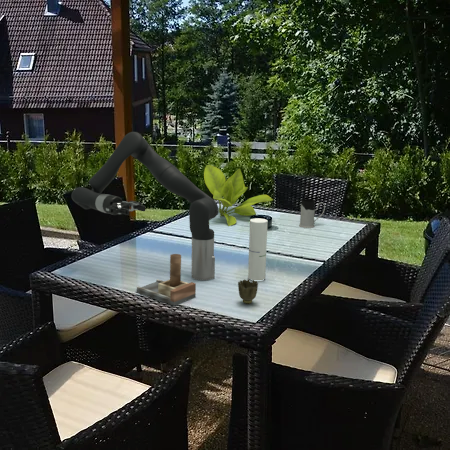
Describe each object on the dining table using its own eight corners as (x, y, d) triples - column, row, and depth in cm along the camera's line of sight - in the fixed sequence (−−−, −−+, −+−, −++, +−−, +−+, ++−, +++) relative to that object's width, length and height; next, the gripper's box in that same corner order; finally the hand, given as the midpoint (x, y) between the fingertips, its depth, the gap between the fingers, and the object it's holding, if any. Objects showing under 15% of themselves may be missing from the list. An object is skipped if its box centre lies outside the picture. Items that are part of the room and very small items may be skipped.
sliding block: (158, 293, 212) (158, 283, 211) (173, 288, 218) (173, 278, 217) (173, 299, 207) (173, 288, 206) (188, 293, 213) (188, 283, 212)
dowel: (179, 289, 214) (180, 253, 211) (181, 292, 210) (181, 256, 207) (169, 289, 213) (169, 253, 210) (170, 293, 209) (171, 256, 206)
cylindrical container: (247, 275, 238) (249, 218, 232) (264, 276, 238) (267, 218, 232) (248, 281, 231) (250, 222, 225) (265, 281, 231) (268, 222, 225)
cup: (234, 304, 207) (235, 284, 205) (241, 298, 214) (241, 278, 212) (253, 308, 204) (254, 287, 202) (260, 301, 211) (260, 281, 209)
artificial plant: (203, 237, 316) (227, 199, 299) (180, 184, 342) (201, 147, 324) (262, 241, 340) (287, 206, 322) (237, 191, 365) (259, 157, 348)
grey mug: (297, 224, 324) (298, 198, 320) (321, 224, 326) (323, 198, 322) (301, 228, 316) (302, 202, 312) (325, 228, 317) (327, 202, 314)
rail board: (136, 292, 217) (136, 279, 215) (158, 284, 225) (157, 271, 224) (174, 306, 205) (174, 291, 203) (195, 297, 213) (195, 283, 212)
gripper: (94, 197, 222) (122, 203, 212) (122, 192, 233) (149, 198, 223) (95, 216, 224) (123, 223, 214) (122, 210, 235) (150, 216, 225)
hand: (136, 210), depth 219 cm, fingers open, 8 cm apart
